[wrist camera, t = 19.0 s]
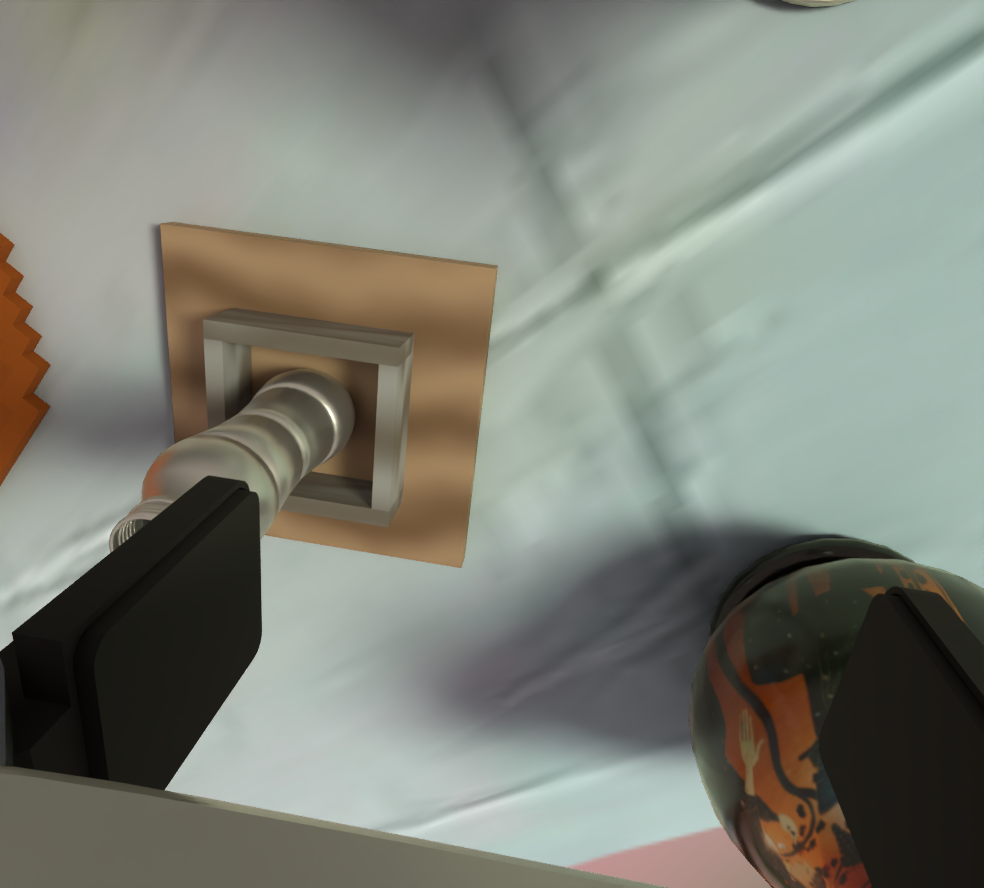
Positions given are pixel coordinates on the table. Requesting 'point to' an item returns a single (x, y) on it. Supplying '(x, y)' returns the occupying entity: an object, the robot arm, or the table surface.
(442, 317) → the collar board
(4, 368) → the pizza
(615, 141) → the table surface
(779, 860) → the amphora vase
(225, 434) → the plastic bottle
